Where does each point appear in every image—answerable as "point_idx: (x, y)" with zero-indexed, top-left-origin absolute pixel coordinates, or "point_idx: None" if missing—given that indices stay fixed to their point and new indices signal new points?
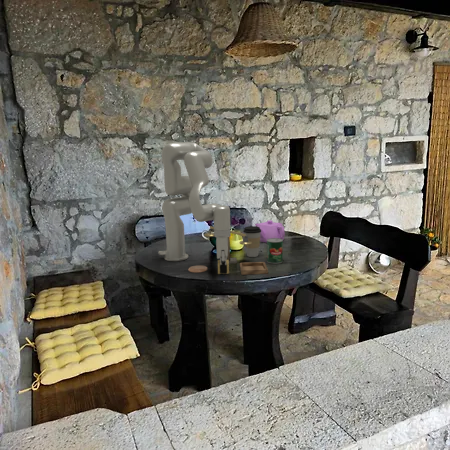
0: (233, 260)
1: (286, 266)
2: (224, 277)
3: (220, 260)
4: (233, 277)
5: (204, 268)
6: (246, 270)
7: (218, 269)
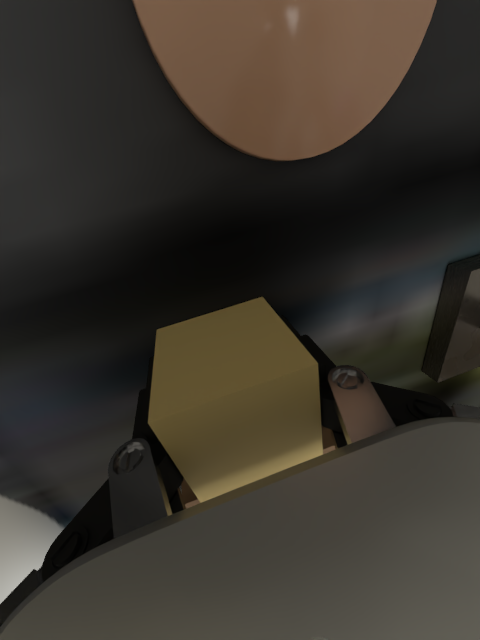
0: (456, 359)
1: None
2: (70, 409)
3: (116, 530)
4: (102, 457)
5: (293, 111)
6: None
7: (156, 362)
